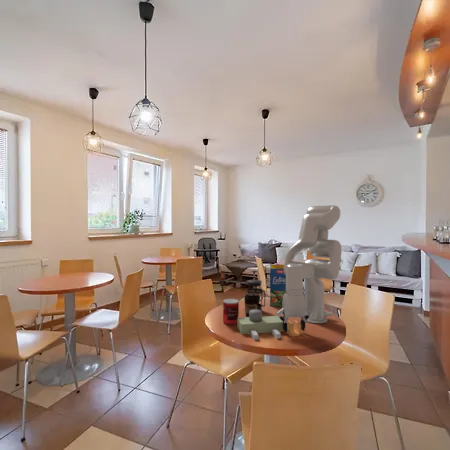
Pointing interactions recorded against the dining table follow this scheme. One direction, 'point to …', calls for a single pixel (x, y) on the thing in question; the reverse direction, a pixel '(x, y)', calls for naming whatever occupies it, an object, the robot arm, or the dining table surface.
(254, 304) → the coffee cup
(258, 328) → the green plate with pegs
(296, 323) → the chute
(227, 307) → the canned food
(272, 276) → the blue food package
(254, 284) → the french press
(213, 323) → the dining table surface
